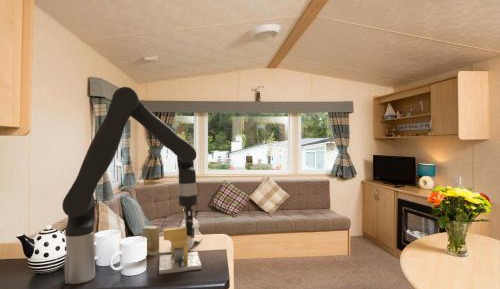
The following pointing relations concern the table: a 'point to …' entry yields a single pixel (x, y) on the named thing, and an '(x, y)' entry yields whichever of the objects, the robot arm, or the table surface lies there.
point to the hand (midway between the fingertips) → (188, 232)
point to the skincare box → (152, 239)
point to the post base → (175, 267)
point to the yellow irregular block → (177, 236)
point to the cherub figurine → (196, 232)
